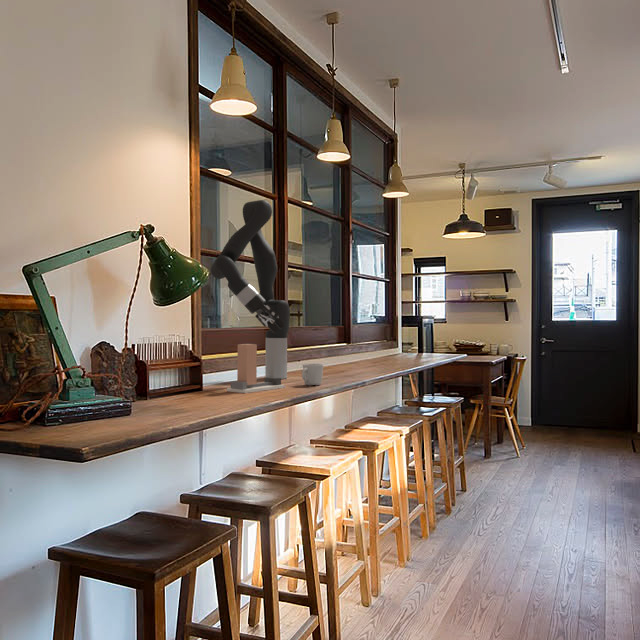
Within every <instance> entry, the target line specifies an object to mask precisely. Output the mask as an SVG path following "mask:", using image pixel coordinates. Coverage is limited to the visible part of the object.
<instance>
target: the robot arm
mask: <svg viewBox="0 0 640 640" xmlns="http://www.w3.org/2000/svg"><path fill="white" fill-rule="evenodd" d="M272 216H273V209H272V205H271V204H270V202H269V201H268V200H265V199H260V200H259V199H258V200H252V201H247V202H245V203H244V204H243V207H242V217H243V221H244V225H242V227H240V228H239V229H238V230H236V231H235V232H234V233H233V234H232V235H231V236H230V238H228V240H227V242H226V243H225V245H224V246H223V249H222V251H221V252H220V253H219V255H218V256H217V258H215V260H214V262H213V263H212V264H211V266H210V274H211V275H212V277H213V278H215V279H217V280H221V279H224V278H225V279H226V281H227V288H228V289H229V290H230V291H231V292H232V293H233V294H234V296H235V297H237V299H238V301H240V303H241V304H242V305H243V306H244V307H245V309H247V311H248V312H249V313H251V314H254V313H256V314H255V315H254V316H255V318H256V319H257V320H258V322H260V323H261V325H262V326H263V327H264V328H266V327H267V328H268V330H266V331H265V360H264V361H265V371H264V372H265V374H264V375H265V376H264V378H265V377H275V378H281V380H284V379H287V378H288V334H289V330H290V318H291V309H290V305H289V303H288V302H287V301H286V300H282V299H281V300H280V299H275V296H274V283H275V281H276V277H277V273H278V264H277V258H276V254H275V250H274V249H273V248H272V245H270V243H269V242H268V241H267V239H266V237H265V236H264V234H263V232H262V228H264V226H265V225H266V224H267V223H268V222H269V220H270V219H271V217H272ZM249 243H250V247H251V250H252V252H251V253H252V257H253V263H254V269H255V274H256V278H257V283H258V289H259V290H257V289H256V288H255V287H254V286H252V285H251V283H250V282H248V280H246V278H245V277H244V276H243V275H242V273H241V271H240V269H239V268H238V266H237V264H236V263H235V262H237V260H238V259H239V258H240V257H241V255H242V253H243V252H244V250H245V249H246V248H247V246H248V244H249Z"/></svg>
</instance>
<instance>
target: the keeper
mask: <svg viewBox="0 0 640 640" xmlns="http://www.w3.org/2000/svg"><path fill="white" fill-rule="evenodd" d="M257 347H258V345H257V344H255V343H242V344H241V343H239V344H237V361H236V362H237V365H236V367H237V370H236V371H237V377H236V378H237V380H236V381H242V382H247V385H252V384H257V383H258V381H257V379H258V378H257V377H258V376H257V374H258V373H257V372H258V370H257V367H258V366H257V364H258V363H257V362H258V361H257V358H258V355H257V352H258V351H257V350H258V348H257Z"/></svg>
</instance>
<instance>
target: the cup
mask: <svg viewBox="0 0 640 640" xmlns="http://www.w3.org/2000/svg"><path fill="white" fill-rule="evenodd" d="M323 371H324V364H323V363H303V364H302V370H301V377H302V380H303V383H304V385H306V386H311V385H316V386H320V385H321V384H322V382H323Z"/></svg>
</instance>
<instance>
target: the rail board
mask: <svg viewBox="0 0 640 640" xmlns="http://www.w3.org/2000/svg"><path fill="white" fill-rule="evenodd" d="M278 388H279V389H284V388H286V385H285V384H282V379H281V378H275V377H265V376H264V381H263V382H257V384H252V385H247V382H242V381H237V380H231V381H230V387H227V388H226V392H232V393H240V394H241V393H242V394H248V393H257V392H263V391H270V390H272V391H273V390H278Z"/></svg>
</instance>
